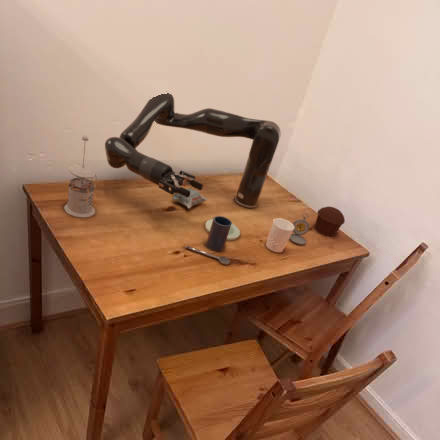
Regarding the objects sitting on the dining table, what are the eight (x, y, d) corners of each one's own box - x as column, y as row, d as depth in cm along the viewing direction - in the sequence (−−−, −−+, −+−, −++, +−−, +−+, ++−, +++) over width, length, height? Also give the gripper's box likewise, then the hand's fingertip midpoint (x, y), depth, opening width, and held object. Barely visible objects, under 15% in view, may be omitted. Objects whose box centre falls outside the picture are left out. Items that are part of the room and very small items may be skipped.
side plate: (209, 217, 163) (210, 214, 162) (242, 228, 163) (242, 226, 162) (201, 232, 153) (201, 230, 152) (235, 244, 152) (236, 242, 152)
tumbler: (208, 238, 151) (215, 214, 145) (225, 244, 151) (233, 220, 145) (204, 247, 146) (211, 221, 140) (221, 253, 146) (229, 228, 140)
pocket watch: (294, 246, 163) (304, 223, 157) (283, 233, 168) (292, 211, 162) (311, 245, 167) (321, 223, 161) (299, 233, 173) (308, 211, 167)
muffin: (337, 228, 185) (347, 208, 179) (338, 241, 176) (349, 220, 170) (311, 220, 185) (320, 199, 179) (310, 232, 176) (320, 210, 170)
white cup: (286, 246, 161) (296, 223, 155) (282, 256, 155) (292, 232, 149) (266, 238, 162) (275, 215, 156) (261, 247, 156) (271, 224, 150)
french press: (57, 208, 140) (60, 133, 125) (79, 197, 149) (85, 125, 134) (83, 220, 139) (89, 145, 124) (104, 208, 148) (112, 137, 133)
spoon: (186, 245, 144) (187, 242, 143) (230, 260, 144) (231, 258, 143) (183, 250, 141) (184, 248, 140) (228, 266, 141) (229, 264, 140)
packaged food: (206, 205, 170) (208, 193, 167) (187, 212, 161) (190, 201, 158) (188, 195, 173) (191, 184, 170) (169, 202, 164) (172, 190, 161)
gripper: (145, 166, 139) (187, 186, 135) (168, 156, 150) (208, 175, 146) (141, 187, 143) (182, 207, 140) (164, 176, 154) (203, 195, 151)
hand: (196, 191), depth 143 cm, fingers open, 8 cm apart
